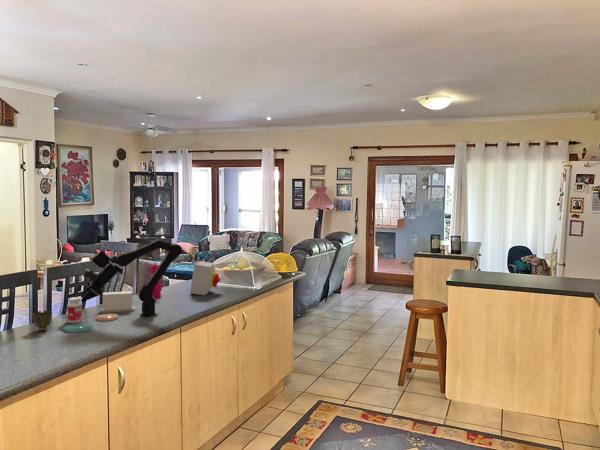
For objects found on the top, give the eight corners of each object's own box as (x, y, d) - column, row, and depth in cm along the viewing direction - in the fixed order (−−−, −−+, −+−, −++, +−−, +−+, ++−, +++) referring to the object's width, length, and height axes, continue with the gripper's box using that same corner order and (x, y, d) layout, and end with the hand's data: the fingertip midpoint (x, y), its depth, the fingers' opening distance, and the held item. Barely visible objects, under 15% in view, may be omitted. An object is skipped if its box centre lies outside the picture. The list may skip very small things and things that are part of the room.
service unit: (134, 310, 249) (134, 293, 249) (100, 313, 244) (100, 295, 243) (134, 307, 256) (134, 290, 255) (101, 309, 250) (101, 292, 250)
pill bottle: (64, 321, 227) (64, 298, 226) (78, 319, 232) (77, 296, 231) (71, 324, 223) (70, 300, 222) (84, 321, 228) (84, 298, 227)
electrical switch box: (214, 299, 288) (219, 266, 286) (189, 295, 288) (194, 262, 286) (218, 294, 302) (223, 262, 301) (195, 290, 302) (200, 258, 301)
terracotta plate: (122, 318, 235) (122, 316, 235) (103, 322, 227) (103, 320, 227) (110, 314, 241) (110, 312, 241) (91, 318, 233) (91, 316, 233)
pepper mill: (158, 298, 278) (158, 263, 277) (146, 297, 280) (146, 263, 278) (164, 295, 285) (164, 261, 284) (152, 294, 287) (152, 261, 285)
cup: (32, 333, 208) (32, 315, 207) (33, 329, 214) (32, 311, 214) (52, 331, 211) (52, 313, 211) (52, 327, 218) (52, 309, 217)
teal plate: (98, 328, 217) (98, 326, 217) (71, 334, 208) (71, 332, 208) (83, 323, 225) (83, 321, 224) (57, 329, 215) (57, 326, 215)
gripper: (93, 260, 237) (68, 284, 234) (94, 266, 220) (67, 291, 217) (110, 275, 241) (86, 299, 237) (113, 282, 224) (86, 308, 220)
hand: (81, 299), depth 228 cm, fingers open, 9 cm apart
